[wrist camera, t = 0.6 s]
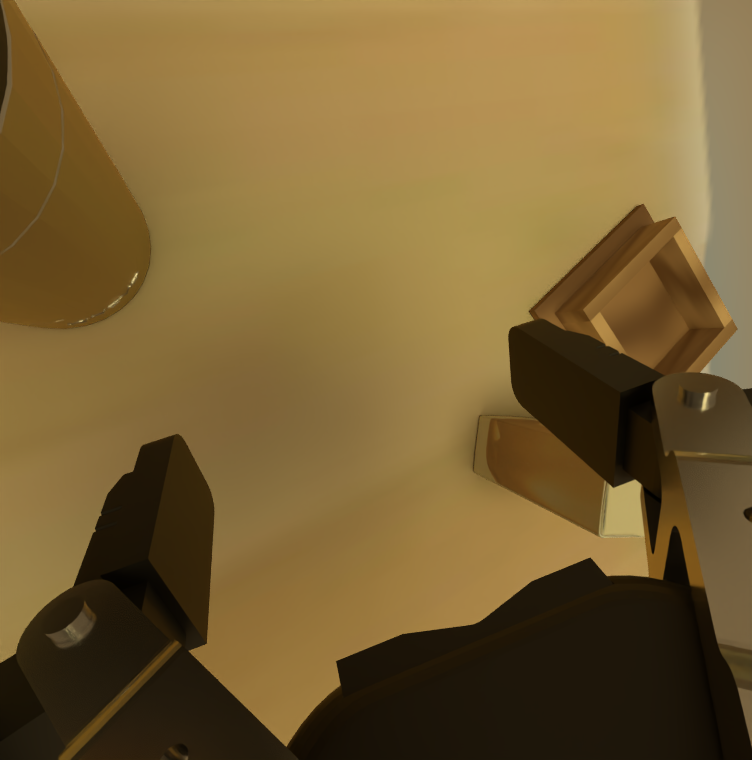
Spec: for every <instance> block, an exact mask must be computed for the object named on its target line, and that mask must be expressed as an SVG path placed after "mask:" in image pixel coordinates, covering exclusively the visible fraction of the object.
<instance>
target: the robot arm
mask: <svg viewBox="0 0 752 760" xmlns="http://www.w3.org/2000/svg"><path fill="white" fill-rule="evenodd" d="M150 252H151V245H150V237H149V230H148V227H147V224H146V222H145V219H144V216H143V213H142V211H141V210H140V208H139V206H138V205H137V203H136V201H135V200H134V198H133V196H132V194H131V193H130V191H129V189H128V188H127V186H126V184H125V182H124V180H123V178H122V177H121V175H120V174H119V172H118V170H117V169H116V167H115V165H114V164H113V162H112V160H111V159H110V157H109V155H108V154H107V152H106V150H105V149H104V147H103V145H102V144H101V142H100V140H99V139H98V137H97V135H96V134H95V132H94V130H93V129H92V127H91V125H90V124H89V122H88V120H87V119H86V117H85V116H84V114H83V112H82V111H81V109H80V107H79V106H78V104H77V102H76V101H75V99H74V97H73V96H72V94H71V92H70V91H69V89H68V87H67V86H66V84H65V82H64V81H63V79H62V77H61V76H60V74H59V72H58V71H57V69H56V67H55V66H54V64H53V62H52V61H51V59H50V58H49V56H48V54H47V53H46V51H45V49H44V48H43V46H42V44H41V43H40V41H39V39H38V38H37V36H36V34H35V33H34V31H33V30H32V29H31V27H30V26H29V24H28V22H27V21H26V19H25V17H24V16H23V14H22V12H21V11H20V9H19V7H18V6H17V4H16V3H15V1H14V0H0V322H5V323H11V324H19V325H26V326H33V327H40V328H58V329H67V328H74V327H81V326H87V325H89V324H92V323H95V322H98V321H101V320H103V319H106V318H107V317H109V316H110V315H112V314H114V313H115V312H117V311H119V310H120V309H121V308H123V307H124V306H125V305H126V304H127V303H128V302H129V301H130V300H131V299H132V298H133V297H134V296H135V294H136V292H137V291H138V289H139V288H140V286H141V285H142V283H143V281H144V279H145V276H146V273H147V270H148V267H149V261H150ZM508 340H509V355H510V370H511V383H512V388H513V392H514V394H515V396H516V398H517V400H518V402H519V403H520V404H521V406H522V407H524V408H525V409H526V410H527V411H528V412H529V413H530V414H531V415H532V416H534V417H535V418H536V419H537V420H538V421H539V422H540V423H541V424H542V425H544V426H545V427H546V428H547V429H548V430H549V431H550V432H551V433H553V434H554V435H555V436H556V437H557V438H558V439H559V440H560V441H561V442H563V443H564V444H565V445H566V446H567V447H568V448H569V449H570V450H571V451H573V452H574V453H575V454H576V455H577V456H578V457H579V458H580V459H582V460H583V461H584V462H585V463H586V464H587V465H588V466H589V467H590V468H592V469H593V470H594V471H595V472H596V473H597V474H598V475H599V476H601V477H602V478H603V479H604V480H605V481H606V482H607V483H608V484H609V485H611V486H612V487H613V488H615V487H617V486H620V485H623V484H625V483H628V482H630V481H633V480H636V481H638V482H639V483H640V484H641V491H640V502H641V510H642V519H643V527H644V535H645V544H646V552H647V561H648V571H649V577H641V576H630V575H628V576H606V575H605V574H604V573H603V572H602V570H601V569H600V568H599V567H598V566H597V565H596V563H595V562H594V561H593V560H592V559H591V558H588V559H586V560H583V561H581V562H578V563H576V564H573V565H571V566H568V567H566V568H563V569H561V570H559V571H556V572H554V573H551V574H549V575H546V576H544V577H541V578H539V579H537V580H534V581H532V582H530V583H529V584H528V585H527V586H525V587H524V588H523V589H521V590H520V591H519V592H518V593H516V594H515V595H514V596H513V597H511V598H510V599H509V600H507V601H506V602H505V603H504V604H502V605H501V606H500V607H499V608H497V609H496V610H495V611H493V612H492V613H491V614H490V615H488V616H487V617H486V618H484V619H483V620H482V621H480V622H478V623H476V624H473V625H468V626H460V627H453V628H445V629H438V630H430V631H422V632H415V633H407V634H402V635H399V636H397V637H394V638H392V639H390V640H387V641H385V642H382V643H380V644H377V645H375V646H372V647H370V648H367V649H365V650H363V651H360V652H358V653H355V654H353V655H350V656H348V657H345V658H343V659H341V660H338V661H336V663H337V668H338V673H339V678H340V683H341V685H340V686H339V687H338V688H337V689H335V690H334V691H333V692H332V693H330V694H329V695H328V696H327V697H326V698H325V699H324V700H323V701H322V702H321V703H320V704H319V705H318V706H317V707H316V708H315V709H314V710H313V711H312V712H311V714H310V715H309V716H308V717H307V718H306V720H305V721H304V722H303V723H302V724H301V726H300V727H299V729H298V730H297V732H296V733H295V735H294V736H293V738H292V739H291V740H290V742H289V744H288V745H287V747H286V746H285V745H284V744H282V743H281V742H280V741H279V740H278V739H277V738H276V737H275V736H274V735H273V734H272V733H271V732H270V731H269V730H268V729H267V728H266V727H265V726H264V725H263V724H262V723H261V722H260V721H259V720H258V719H257V718H256V717H255V716H254V715H253V714H252V713H251V712H250V711H249V710H248V709H247V708H246V707H245V706H244V705H243V704H242V703H241V702H240V701H239V700H238V699H237V698H236V697H235V696H233V695H232V694H231V693H230V692H229V691H228V690H227V689H226V688H225V687H224V686H223V685H222V684H221V683H220V682H219V681H218V680H217V679H216V678H215V677H214V676H213V675H212V674H211V673H210V672H209V671H208V670H207V669H206V668H205V667H204V666H203V665H202V664H201V663H200V662H199V661H198V660H197V659H196V658H195V657H194V656H193V655H192V654H191V653H190V652H189V650H192V649H194V648H197V647H200V646H202V645H205V644H207V630H208V613H209V596H210V579H211V562H212V545H213V528H214V503H213V498H212V495H211V491H210V489H209V486H208V484H207V482H206V480H205V479H204V477H203V475H202V473H201V471H200V469H199V467H198V465H197V463H196V461H195V459H194V458H193V456H192V454H191V452H190V450H189V448H188V446H187V444H186V442H185V441H184V439H183V438H182V437H181V436H180V435H179V434H175V435H172V436H169V437H166V438H163V439H160V440H157V441H154V442H151V443H147V444H144V445H142V447H141V449H140V452H139V455H138V458H137V461H136V464H135V467H134V470H133V472H131V473H127V474H124V475H123V476H122V477H121V479H120V480H119V481H118V482H117V483H116V485H115V486H114V487H113V488H112V489H111V491H110V492H109V493H108V495H107V497H106V500H105V503H104V505H103V508H102V511H101V515H102V516H100V517H99V519H98V522H97V524H96V527H95V530H96V532H94V533H93V535H92V538H91V540H90V543H89V546H88V548H87V551H86V554H85V556H84V559H83V562H82V565H81V567H80V570H79V573H78V575H77V578H76V581H75V583H74V586H73V587H72V588H70V589H68V590H67V591H65V592H64V593H62V594H60V595H59V596H58V597H56V598H55V599H53V600H52V601H51V602H50V603H49V604H47V605H46V606H45V607H44V608H43V609H42V610H41V611H40V612H39V613H38V614H37V615H36V616H35V617H34V619H33V620H32V621H31V622H30V624H29V625H28V626H27V628H26V629H25V631H24V633H23V634H22V636H21V638H20V641H19V643H18V646H17V651H16V654H15V655H13V656H11V657H10V658H8V659H7V660H5V661H3V662H2V663H0V760H752V388H751V389H741V388H740V387H739V386H738V385H736V384H735V383H733V382H731V381H729V380H727V379H724V378H722V377H719V376H715V375H711V374H706V373H696V372H682V373H675V374H670V375H667V376H665V375H663V374H661V373H659V372H657V371H656V370H654V369H652V368H650V367H648V366H646V365H644V364H642V363H640V362H638V361H637V360H635V359H633V358H631V357H629V356H627V355H625V354H623V353H621V354H620V353H619V351H618V350H616V349H614V348H612V347H610V346H605V344H604V343H602V342H600V341H599V340H597V339H595V338H593V337H591V336H589V335H585V334H581V333H576V332H572V331H568V330H566V331H565V330H563V329H561V328H560V327H558V326H556V325H554V324H552V323H551V322H549V321H547V320H545V319H542V318H540V319H536V320H533V321H530V322H527V323H524V324H521V325H518V326H514V327H512V328H511V329H510V331H509V336H508Z"/></svg>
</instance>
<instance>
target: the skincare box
mask: <svg viewBox="0 0 752 760" xmlns="http://www.w3.org/2000/svg"><path fill="white" fill-rule="evenodd" d="M474 472H475V473H476V474H478V475H480V476H482V477H484V478H486V479H488V480H490V481H492V482H494V483H496V484H498V485H500V486H501V487H503V488H505V489H507V490H509V491H511V492H513V493H515V494H517V495H519V496H521V497H523V498H525V499H527V500H529V501H531V502H533V503H534V504H536V505H538V506H540V507H542V508H544V509H546V510H548V511H550V512H552V513H554V514H556V515H558V516H560V517H562V518H564V519H566V520H568V521H570V522H571V523H573V524H575V525H577V526H579V527H581V528H583V529H585V530H587V531H589V532H591V533H593V534H595V535H597V536H599V537H601V538H621V537H645V535H644V527H643V519H642V510H641V502H640V491H641V484H640V483H639V482H638V481H636V480H633V481H630V482H628V483H625V484H623V485H620V486H617V487H615V488H613V487H612V486H611V485H609V484H608V483H607V482H606V481H605V480H604V479H603V478H602V477H601V476H599V475H598V474H597V473H596V472H595V471H594V470H593V469H592V468H590V467H589V466H588V465H587V464H586V463H585V462H584V461H583V460H582V459H580V458H579V457H578V456H577V455H576V454H575V453H574V452H573V451H571V450H570V449H569V448H568V447H567V446H566V445H565V444H564V443H563V442H561V441H560V440H559V439H558V438H557V437H556V436H555V435H554V434H553V433H551V432H550V431H549V430H548V429H547V428H546V427H545V426H544V425H542V424H541V423H540V422H539V421H538V420H537V419H536V418H527V417H514V416H485V415H483V416H480V418H479V426H478V433H477V441H476V450H475V460H474Z"/></svg>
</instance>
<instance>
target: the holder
mask: <svg viewBox="0 0 752 760" xmlns="http://www.w3.org/2000/svg"><path fill="white" fill-rule="evenodd" d="M529 312H530V314H531V315H532V316H533V318H534V319H535V320H536V319H540V318H542V319H545V320H547V321H549V322H551V323H552V324H554V325H556V326H558V327H560V328H561V329H563V330H565V331H566V330H568V331H572V332H576V333H581V334H585V335H589V336H591V337H593V338H595V339H597V340H599V341H600V342H602V343H604V344H605V346H610V347H612V348H614V349H616V350H618V351H619V353H620V354H621V353H623V354H625V355H627V356H629V357H631V358H633V359H635V360H637V361H638V362H640V363H642V364H644V365H646V366H648V367H650V368H652V369H654V370H656V371H657V372H659V373H661V374H663V375H665V376H667V375H670V374H675V373H682V372H696V373H700V372H701V371H702V369H703V368H704V367H705V366H706V365H707V364H708V363H709V361H710V360H711V359H712V358H713V357H714V356H715V354H716V353H717V352H718V351H719V350H720V348H722V346H723V345H724V344H725V343H726V342H727V341H728V340H729V338H730V337H731V336H732V335H733V334H734V333H735V332H736V330H737V327H736V326H735V324H734V322H733V320H732V318H731V316H730V315H729V313H728V311H727V310H726V307H725V306H724V304H723V302H722V300H721V298H720V297H719V295H718V293H717V291H716V289H715V287H714V286H713V284H712V282H711V280H710V279H709V277H708V275H707V273H706V271H705V269H704V268H703V266H702V264H701V262H700V260H699V259H698V257H697V255H696V253H695V251H694V250H693V248H692V246H691V244H690V242H689V241H688V239H687V237H686V235H685V233H684V232H683V230H682V228H681V226H680V224H679V222H678V221H677V219H676V217H672V218H669V219H665V220H662V221H659V222H656V223H654V221H653V220H652V218H651V216H650V214H649V212H648V211H647V209H646V207H645V205H644V204H642V205H639V206H637V207H636V208H635V209H634V210H633V211H631V212H630V213H629V214H628V215H627V216H626V217H625V218H624V219H623V220H622V221H621V222H620V223H619V224H618V225H617V226H616V227H615V228H614V229H613V230H612V231H611V232H610V233H609V234H608V235H607V236H606V237H605V238H604V239H603V240H602V241H601V242H600V243H599V244H598V245H597V246H596V247H595V248H594V249H593V250H592V251H591V252H590V253H588V254H587V255H586V256H585V257H584V258H583V259H582V260H581V261H580V262H579V263H578V264H577V265H576V266H575V267H574V268H573V269H572V270H571V271H570V272H569V273H568V274H567V275H566V276H565V277H564V278H563V279H562V280H561V281H560V282H559V283H558V284H557V285H556V286H555V287H554V288H553V289H552V290H551V291H550V292H549V293H548V294H546V295H545V296H544V297H543V298H542V299H541V300H540V301H539V302H538V303H537V304H536V305H535V306H534V307H533V308H532V309H531V310H530V311H529Z"/></svg>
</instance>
